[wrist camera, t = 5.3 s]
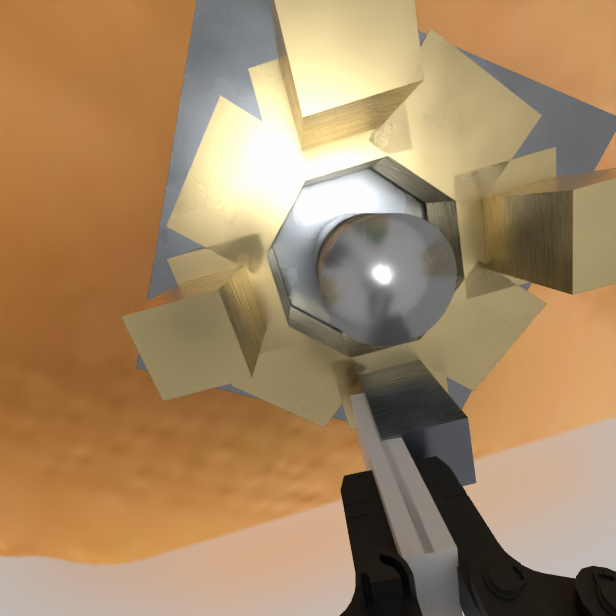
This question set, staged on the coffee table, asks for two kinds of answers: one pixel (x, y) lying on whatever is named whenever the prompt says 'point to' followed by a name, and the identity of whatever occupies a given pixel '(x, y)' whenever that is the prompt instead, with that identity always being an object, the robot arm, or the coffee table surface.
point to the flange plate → (349, 195)
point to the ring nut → (405, 173)
